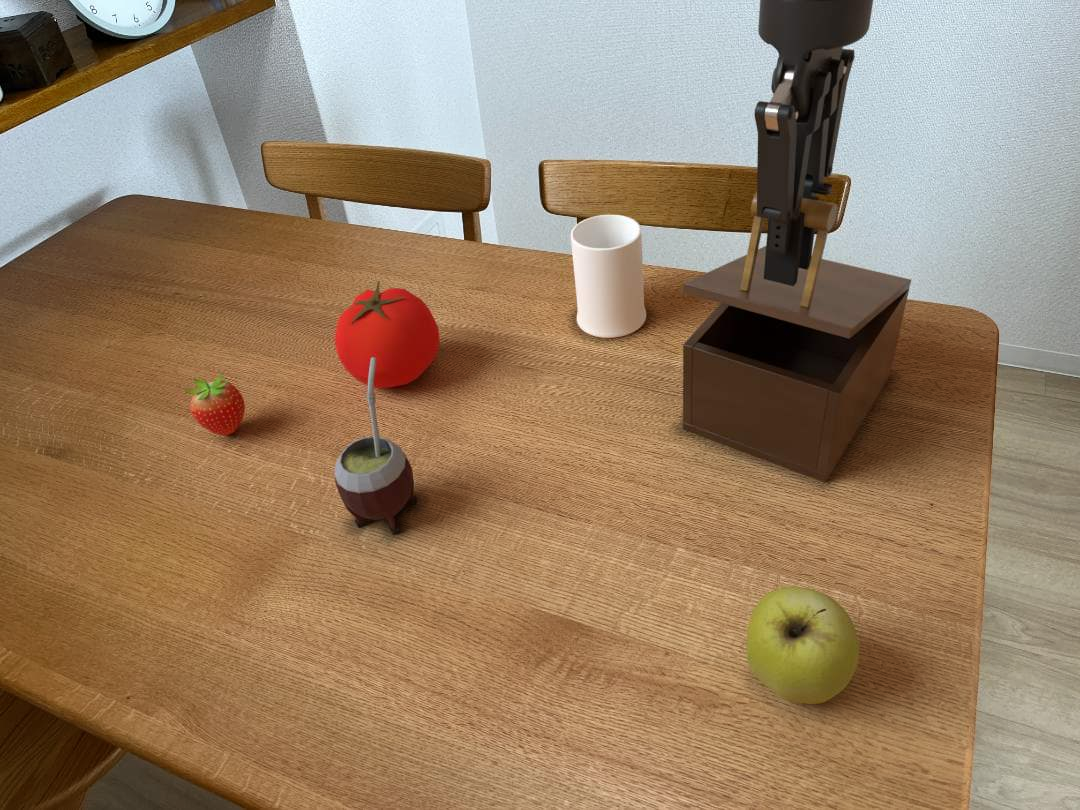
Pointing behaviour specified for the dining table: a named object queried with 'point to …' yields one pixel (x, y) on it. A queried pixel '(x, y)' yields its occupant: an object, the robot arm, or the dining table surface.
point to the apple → (802, 645)
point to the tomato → (387, 337)
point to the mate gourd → (374, 474)
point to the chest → (785, 384)
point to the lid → (803, 283)
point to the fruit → (217, 406)
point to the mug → (608, 275)
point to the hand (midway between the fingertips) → (787, 271)
